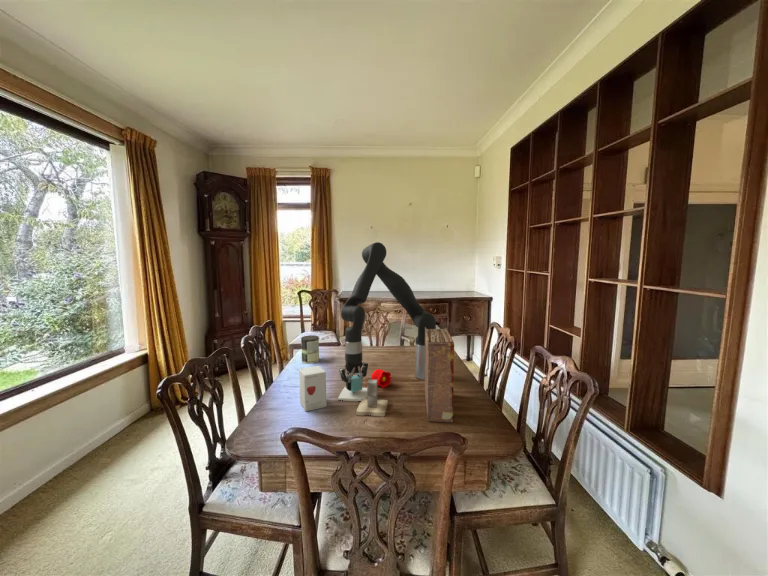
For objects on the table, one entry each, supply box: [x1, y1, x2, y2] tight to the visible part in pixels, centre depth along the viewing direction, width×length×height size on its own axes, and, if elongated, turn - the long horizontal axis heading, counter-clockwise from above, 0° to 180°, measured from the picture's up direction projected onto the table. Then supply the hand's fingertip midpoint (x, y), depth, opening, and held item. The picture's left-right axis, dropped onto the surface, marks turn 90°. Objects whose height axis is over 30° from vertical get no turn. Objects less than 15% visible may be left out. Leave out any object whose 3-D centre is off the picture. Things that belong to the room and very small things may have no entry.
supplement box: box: [299, 365, 327, 412], centre depth 130 cm, size 9×9×15 cm
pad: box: [337, 386, 367, 402], centre depth 140 cm, size 12×12×1 cm
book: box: [424, 327, 455, 423], centre depth 127 cm, size 25×9×30 cm, turn 175°
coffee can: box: [300, 335, 320, 364], centre depth 187 cm, size 10×10×14 cm
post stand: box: [355, 379, 389, 417], centre depth 126 cm, size 11×11×12 cm
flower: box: [371, 368, 392, 389], centre depth 150 cm, size 8×8×8 cm
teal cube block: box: [350, 374, 363, 392], centre depth 139 cm, size 5×5×5 cm
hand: (354, 388), depth 140 cm, fingers closed on teal cube block, 5 cm apart
